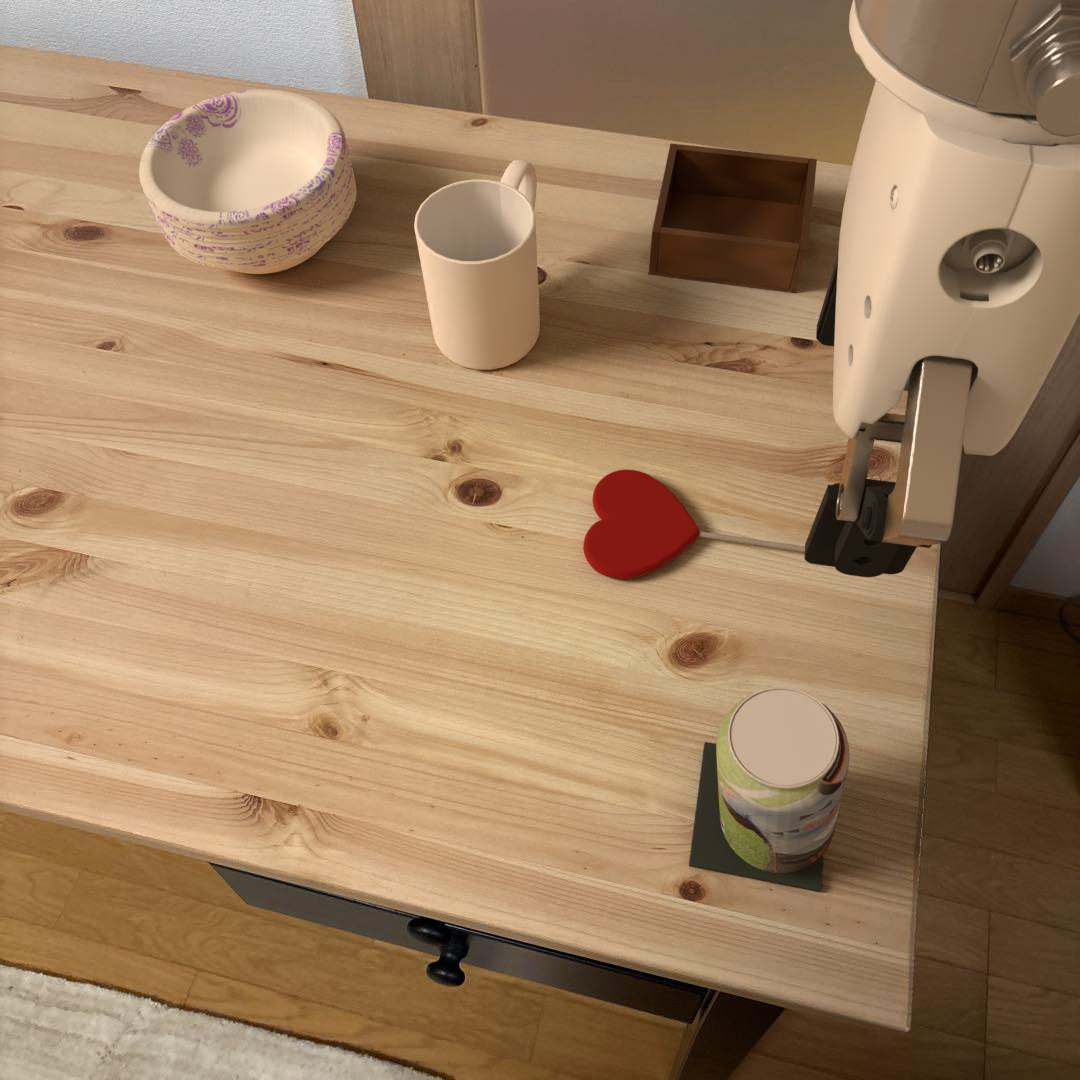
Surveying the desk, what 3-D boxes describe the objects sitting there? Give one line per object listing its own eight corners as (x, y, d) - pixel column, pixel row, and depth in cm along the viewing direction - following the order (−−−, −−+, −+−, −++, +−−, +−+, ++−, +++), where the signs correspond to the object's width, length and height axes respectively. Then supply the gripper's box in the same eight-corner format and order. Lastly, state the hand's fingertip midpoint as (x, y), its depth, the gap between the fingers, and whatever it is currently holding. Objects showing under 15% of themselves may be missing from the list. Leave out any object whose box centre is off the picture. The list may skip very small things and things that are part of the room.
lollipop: (825, 502, 65) (598, 470, 67) (828, 494, 65) (598, 462, 66) (819, 612, 61) (577, 575, 63) (822, 605, 61) (577, 568, 62)
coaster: (827, 766, 57) (829, 764, 56) (819, 892, 53) (821, 891, 53) (704, 743, 58) (704, 741, 57) (688, 866, 54) (689, 864, 54)
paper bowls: (234, 151, 85) (205, 66, 78) (396, 192, 82) (379, 107, 75) (136, 274, 78) (94, 192, 71) (308, 324, 75) (281, 243, 68)
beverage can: (814, 895, 53) (872, 839, 42) (680, 845, 54) (704, 779, 44) (840, 785, 56) (900, 707, 45) (712, 741, 57) (742, 656, 47)
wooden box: (805, 203, 80) (817, 158, 76) (796, 293, 75) (808, 249, 71) (666, 187, 81) (670, 142, 77) (648, 274, 76) (651, 231, 73)
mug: (512, 385, 71) (503, 277, 62) (414, 352, 73) (392, 243, 64) (579, 271, 77) (580, 156, 68) (487, 243, 79) (475, 127, 70)
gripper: (1320, 286, 16) (970, 682, 31) (1176, -218, 25) (955, 281, 40) (855, 241, 17) (729, 647, 32) (869, -231, 26) (764, 262, 41)
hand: (854, 444), depth 36 cm, fingers open, 9 cm apart
